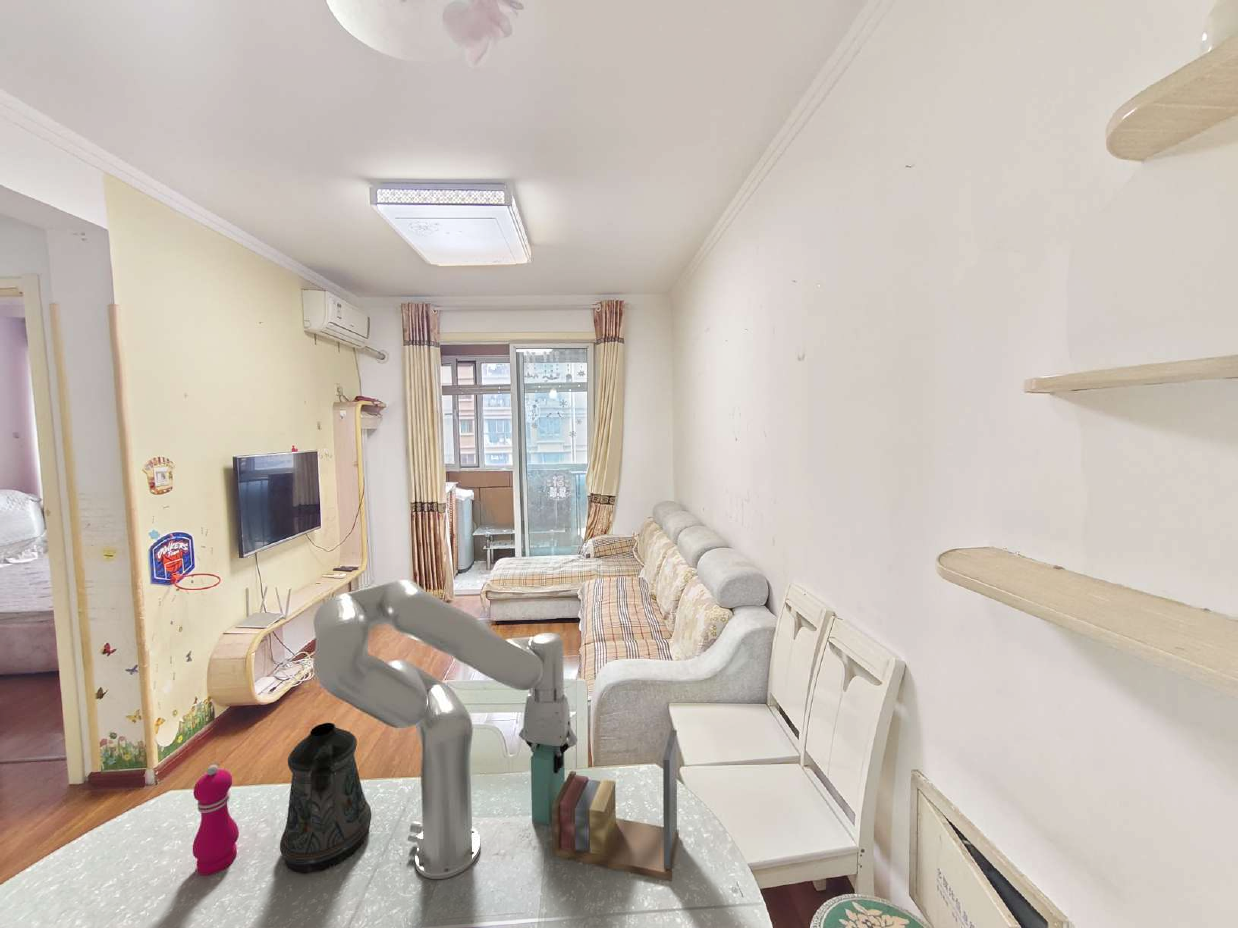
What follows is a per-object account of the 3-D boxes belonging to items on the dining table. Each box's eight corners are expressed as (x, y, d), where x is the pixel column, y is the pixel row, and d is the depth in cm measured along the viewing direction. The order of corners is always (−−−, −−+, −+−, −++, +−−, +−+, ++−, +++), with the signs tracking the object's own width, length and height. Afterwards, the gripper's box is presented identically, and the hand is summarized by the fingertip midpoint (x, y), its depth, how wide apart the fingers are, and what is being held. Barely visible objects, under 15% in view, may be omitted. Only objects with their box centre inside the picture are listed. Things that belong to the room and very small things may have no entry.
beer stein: (347, 802, 117) (343, 697, 116) (395, 839, 106) (391, 724, 105) (266, 850, 103) (260, 733, 102) (311, 899, 92) (305, 768, 91)
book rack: (553, 855, 101) (552, 806, 101) (571, 815, 112) (570, 770, 111) (670, 881, 95) (670, 828, 95) (678, 836, 106) (678, 788, 106)
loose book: (531, 820, 111) (530, 757, 110) (549, 789, 120) (548, 731, 120) (548, 824, 110) (547, 760, 109) (564, 792, 119) (564, 733, 119)
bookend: (663, 868, 96) (663, 759, 95) (671, 828, 106) (671, 729, 105) (669, 869, 96) (669, 760, 95) (676, 829, 106) (676, 729, 104)
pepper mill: (184, 871, 98) (179, 773, 97) (224, 843, 105) (219, 751, 104) (209, 882, 96) (203, 781, 95) (248, 852, 103) (243, 758, 102)
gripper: (505, 693, 112) (507, 772, 113) (576, 703, 108) (577, 785, 109) (520, 678, 119) (521, 752, 120) (587, 686, 115) (588, 763, 116)
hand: (548, 767), depth 114 cm, fingers closed on loose book, 4 cm apart
